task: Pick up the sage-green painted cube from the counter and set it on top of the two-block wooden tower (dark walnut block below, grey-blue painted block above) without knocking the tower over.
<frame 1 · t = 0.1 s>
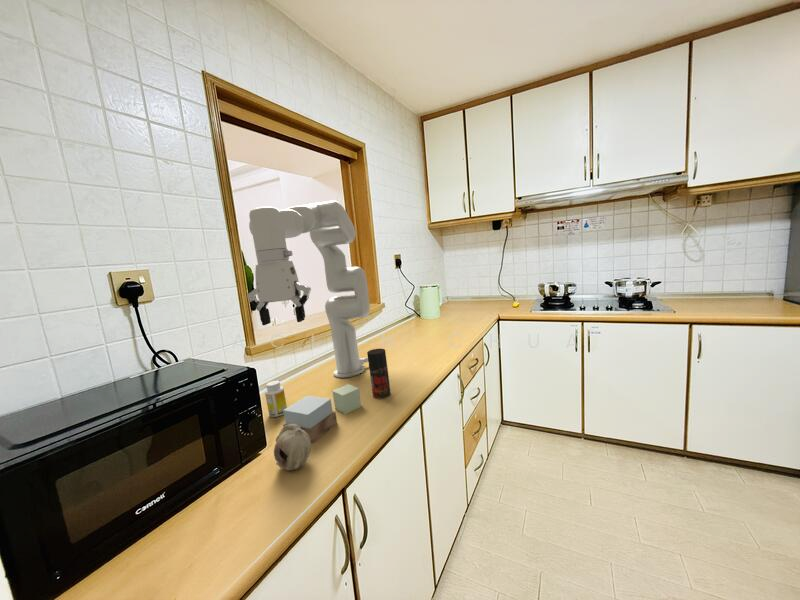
hand: (283, 322, 86), 31 cm above the countertop, tool pointing down, fingers open, 9 cm apart
sage cube: (348, 407, 102), on the countertop
garlic bulb: (296, 466, 75), on the countertop
supplement bottle: (278, 414, 104), on the countertop
walnut block: (312, 431, 91), on the countertop
grey-blue block: (309, 418, 90), point 4 cm above the countertop
deodorant: (382, 395, 108), on the countertop
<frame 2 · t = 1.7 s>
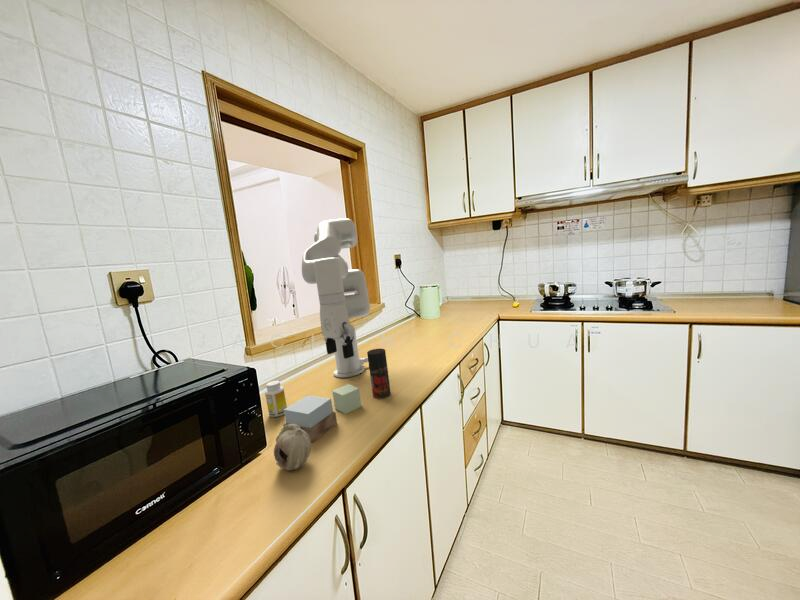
hand: (340, 355, 99), 17 cm above the countertop, tool pointing down, fingers open, 9 cm apart
walnut block: (311, 431, 91), on the countertop, touching grey-blue block
grey-blue block: (310, 417, 90), point 4 cm above the countertop, touching walnut block
everything else where it was.
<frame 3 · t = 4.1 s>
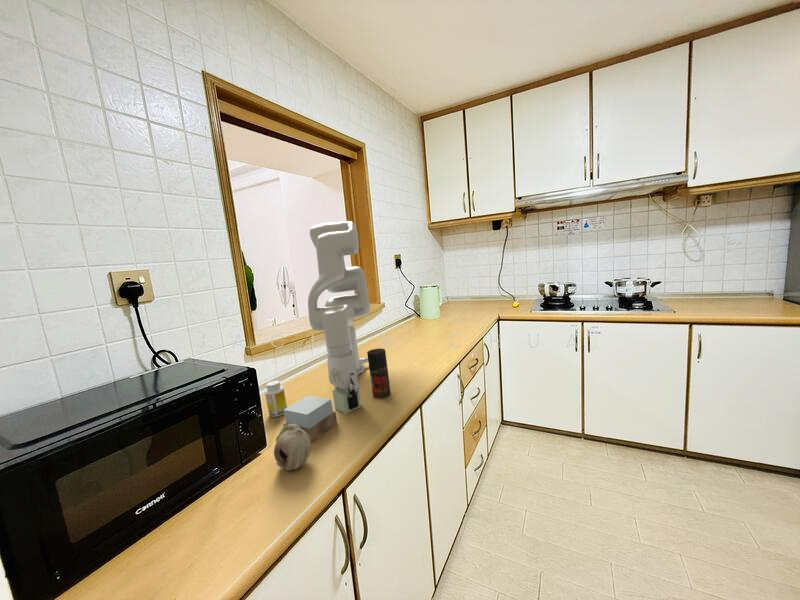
hand: (347, 404, 102), 1 cm above the countertop, tool pointing down, fingers closed on sage cube, 6 cm apart
sage cube: (348, 407, 102), on the countertop, touching gripper
everything else where it was.
when the fingers open (10 cm above the countertop, at t = 9.0 s): sage cube drops 1 cm, resting on grey-blue block.
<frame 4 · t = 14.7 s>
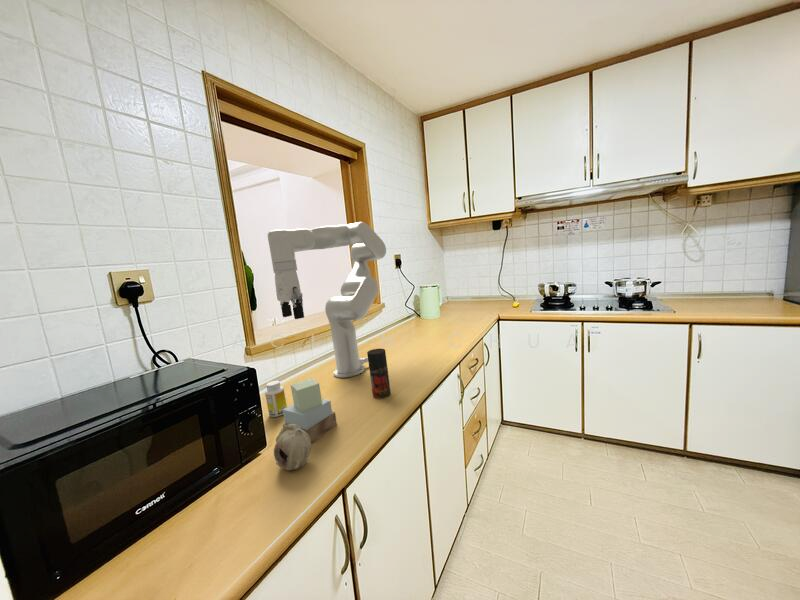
hand: (293, 317, 111), 28 cm above the countertop, tool pointing down, fingers open, 9 cm apart
sage cube: (308, 404, 89), point 8 cm above the countertop, touching grey-blue block
grey-blue block: (308, 418, 90), point 4 cm above the countertop, touching sage cube, walnut block
everything else where it was.
at the end: sage cube 0.5 cm from the grey-blue block (horizontally); sage cube point 7.6 cm above the countertop; grey-blue block tilted 0° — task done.
